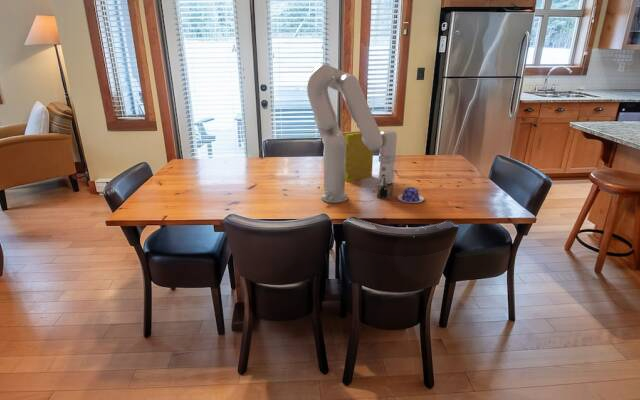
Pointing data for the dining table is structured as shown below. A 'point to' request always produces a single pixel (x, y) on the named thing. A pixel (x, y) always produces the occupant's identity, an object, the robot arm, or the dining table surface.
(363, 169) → the book
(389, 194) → the walnut cube
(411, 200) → the pudding
